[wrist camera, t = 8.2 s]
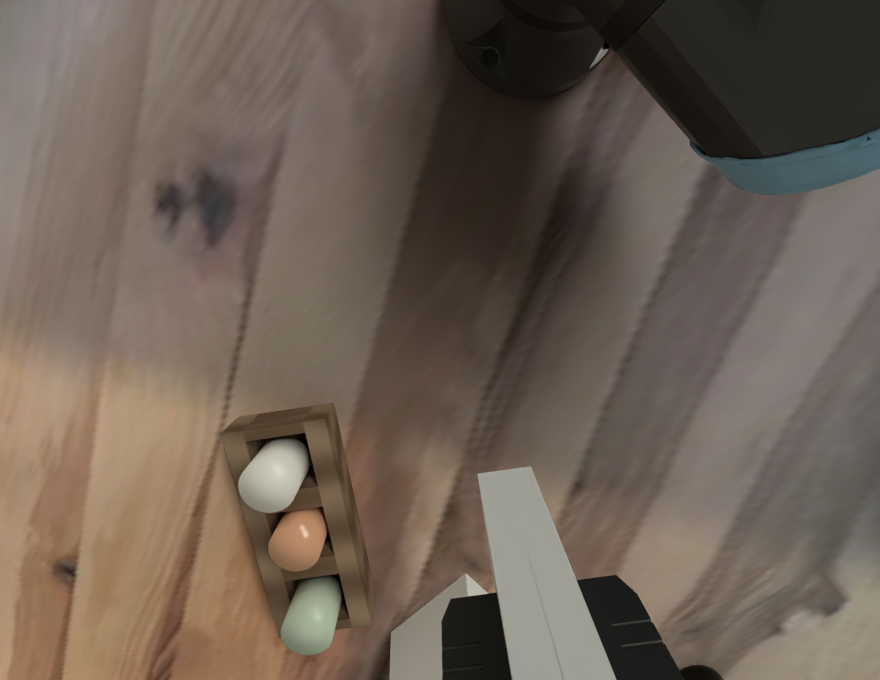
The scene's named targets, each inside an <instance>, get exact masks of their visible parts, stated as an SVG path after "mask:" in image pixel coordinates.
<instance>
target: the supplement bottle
mask: <svg viewBox="0 0 880 680" xmlns="http://www.w3.org/2000/svg"><path fill="white" fill-rule="evenodd" d="M680 673H681V675H682V676H683V678H684V680H723V678H722V677H721V676H720V674H719V673H718V672H716V671H715V670H714V669H712V668H709V667H707V666H701V665H697V666H691V667H687V668H685V669H683V670H681V671H680Z"/></svg>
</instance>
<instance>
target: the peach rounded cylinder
mask: <svg viewBox="0 0 880 680" xmlns="http://www.w3.org/2000/svg"><path fill="white" fill-rule="evenodd" d="M328 531H329V530H328V525H327V521H326V517H325V513H324V509H323V506H321V507H314V508H307V509H300V510H293V511H286V512H284V514H283V516H282V518H281V520H280V522H279V524H278V526H277V527H276V529H275V531H274V533H273V535H272V537H271V539H270V541H269V545H268V551H269V555H270V557H271V559H272V560H273V561H274V563H275V564H277V565H278V566H279V567H281V568H283V569H285V570H288V571H304V570H307V569H309V568H311V567H312V566H313V565H314V564H315V563H316V562H317V561H318V559H319V557H320V554H321V551H322V548H323V545H324V542H325V539H326V537H327V534H328Z"/></svg>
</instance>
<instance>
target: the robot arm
mask: <svg viewBox="0 0 880 680" xmlns="http://www.w3.org/2000/svg"><path fill="white" fill-rule="evenodd" d="M445 11H446V18H447V23H448V28H449V31H450V35H451V38H452V40H453V43H454V45H455V47H456V49H457V51H458V53H459V55H460V57H461V58H462V60H463V61H464V63H465V64H466V65H467V67H468V68H469V69H470V70H471V71H472V73H473V74H474V75H475V76H477V77H478V78H479V79H480V80H481V81H482V82H484V83H485V84H486V85H488V86H490V87H491V88H493V89H495V90H497V91H499V92H501V93H504V94H507V95H510V96H514V97H519V98H542V97H547V96H551V95H555V94H558V93H560V92H563V91H565V90H567V89H569V88H571V87H572V86H574V85H576V84H577V83H579V82H580V81H581V80H583V79H584V78H585V77H586V76H587V75H588V74H589V73H590V72H591V71H592V70H593V69H594V68H595V67H596V66H597V65H598V64H599V63H600V62H601V61H602V60H603V59H604V58H605V56H606V55H607V54H608V53H609V51H610V50H611V49H613V51H614V53H615V54H616V55H617V56H618V58H619V59H620V60H621V61H622V62H623V63H624V65H625V66H626V67H627V68H628V69H629V70H630V71H631V73H632V74H633V75H634V76H635V77H636V78H637V80H638V81H639V82H640V83H641V84H642V85H643V86H644V88H645V89H646V90H647V91H648V92H649V93H650V95H651V96H652V97H653V98H654V99H655V100H656V102H657V103H658V104H659V105H660V106H661V107H662V108H663V110H664V111H665V112H666V113H667V114H668V115H669V117H670V118H671V119H672V120H673V121H674V122H675V123H676V125H677V126H678V127H679V128H680V129H681V130H682V132H683V133H684V134H685V135H686V136H687V137H688V138H689V140H690V146H691V147H692V149H693V150H694V151H695V152H696V153H697V154H698V155H699V156H700V157H702V158H704V159H706V160H707V161H709V162H711V163H712V164H713V165H714V167H715V168H716V169H717V170H718V171H719V172H720V173H721V174H722V175H723V176H724V177H725V178H726V179H727V180H728V181H729V182H730V183H731V184H733V185H734V186H736V187H738V188H740V189H743V190H748V191H750V192H752V193H757V194H761V195H786V194H795V193H801V192H807V191H812V190H816V189H820V188H824V187H828V186H831V185H835V184H838V183H841V182H844V181H847V180H850V179H853V178H856V177H859V176H862V175H864V174H867V173H869V172H872V171H874V170H877V169H879V168H880V0H445ZM478 481H479V488H480V495H481V502H482V508H483V515H484V522H485V529H486V536H487V543H488V549H489V556H490V562H491V568H492V574H493V580H494V587H495V593H490V594H482V595H475V596H467V597H460V598H452V599H450V602H449V604H448V607H447V609H446V611H445V614H444V616H443V619H442V621H441V625H442V672H443V674H442V680H684V678H683V676H682V675H681V673H680V671H679V669H678V667H677V665H676V664H675V662H674V660H673V658H672V656H671V655H670V653H669V651H668V649H667V647H666V646H665V644H663V642H662V638H661V636H660V635H659V633H658V631H657V629H656V627H655V626H654V624H653V623H652V622H651V619H650V617H649V615H648V613H647V611H646V609H645V607H644V606H643V604H642V602H641V600H640V598H639V597H638V595H637V593H635V592H634V591H633V590H632V589H631V588H630V587H629V586H628V585H627V584H625V583H624V582H623V581H622V580H621V579H620V578H619V577H618V576H616V575H613V576H606V577H598V578H591V579H583V580H576V578H575V575H574V573H573V570H572V568H571V565H570V563H569V560H568V558H567V555H566V553H565V550H564V548H563V545H562V543H561V540H560V538H559V535H558V533H557V530H556V528H555V525H554V523H553V520H552V518H551V515H550V513H549V510H548V508H547V505H546V503H545V500H544V498H543V495H542V493H541V491H540V488H539V486H538V483H537V481H536V478H535V476H534V473H533V471H532V468H531V466H530V467H522V468H515V469H508V470H501V471H494V472H487V473H480V474H478Z"/></svg>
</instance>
